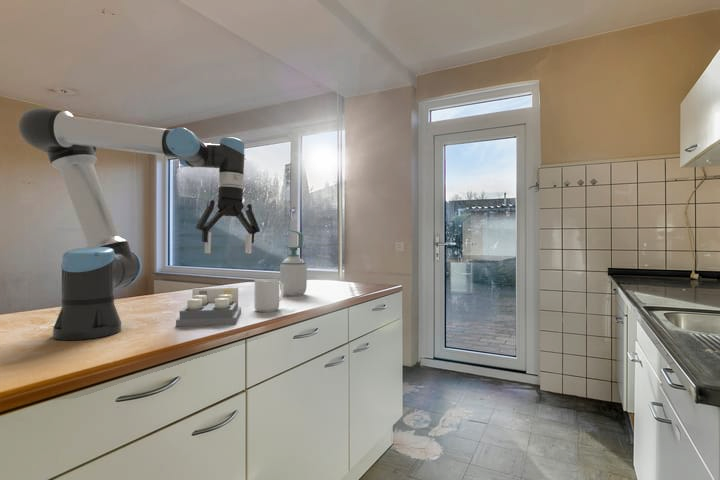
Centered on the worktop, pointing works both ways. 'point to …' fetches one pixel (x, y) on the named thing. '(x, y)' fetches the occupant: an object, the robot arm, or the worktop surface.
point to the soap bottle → (294, 271)
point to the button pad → (211, 309)
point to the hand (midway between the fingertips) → (228, 253)
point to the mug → (267, 295)
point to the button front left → (194, 304)
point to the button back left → (203, 297)
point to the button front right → (222, 303)
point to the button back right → (227, 297)
